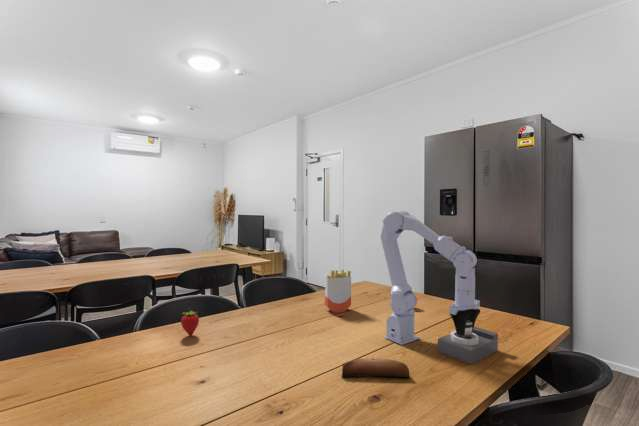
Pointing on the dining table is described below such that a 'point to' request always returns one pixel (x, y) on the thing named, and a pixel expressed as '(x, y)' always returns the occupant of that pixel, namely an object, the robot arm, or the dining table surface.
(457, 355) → the camera body
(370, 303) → the dining table surface
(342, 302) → the french fries container
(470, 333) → the lens
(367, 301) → the dining table surface
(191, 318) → the strawberry
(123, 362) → the dining table surface
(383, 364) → the sunglasses case
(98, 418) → the dining table surface
